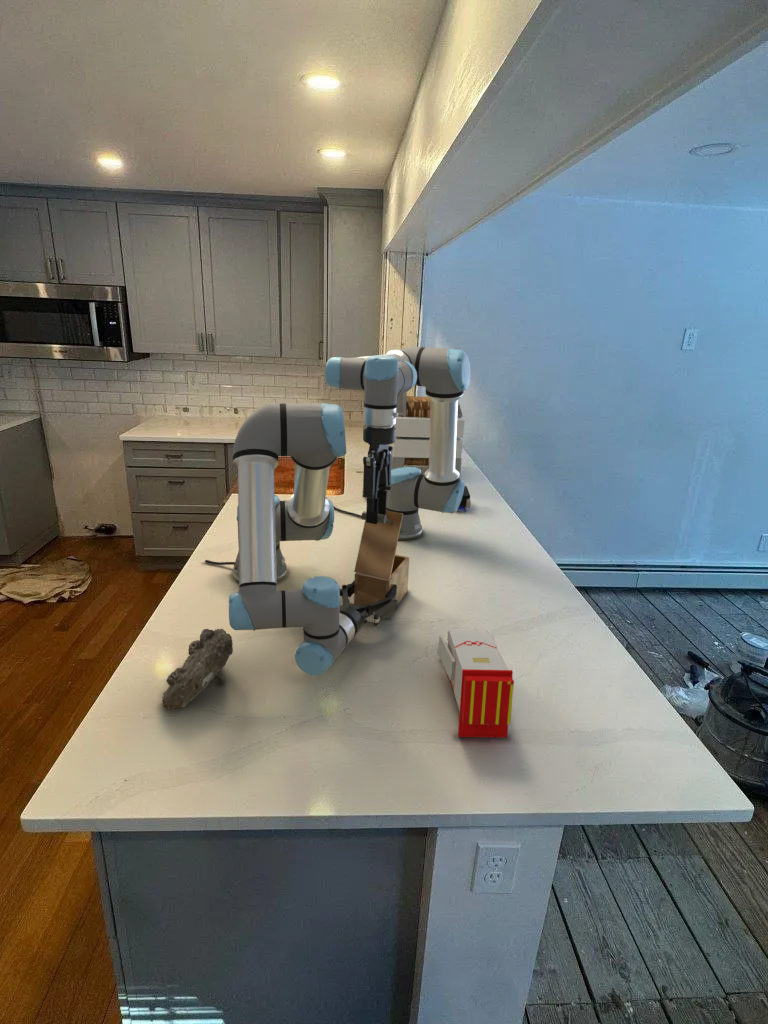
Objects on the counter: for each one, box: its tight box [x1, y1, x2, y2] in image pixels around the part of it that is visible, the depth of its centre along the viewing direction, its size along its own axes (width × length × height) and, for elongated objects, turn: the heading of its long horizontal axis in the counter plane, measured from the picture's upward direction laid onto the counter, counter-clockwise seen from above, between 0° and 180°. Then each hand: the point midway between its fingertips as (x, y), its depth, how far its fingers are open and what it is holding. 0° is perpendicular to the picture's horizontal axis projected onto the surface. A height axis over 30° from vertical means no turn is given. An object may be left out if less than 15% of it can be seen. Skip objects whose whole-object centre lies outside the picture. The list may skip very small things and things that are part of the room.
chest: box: [353, 553, 411, 619], centre depth 152 cm, size 16×10×11 cm, turn 159°
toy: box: [437, 628, 515, 738], centre depth 117 cm, size 12×13×30 cm
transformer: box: [389, 392, 465, 480], centre depth 268 cm, size 34×33×41 cm
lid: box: [353, 510, 403, 579], centre depth 140 cm, size 17×10×9 cm
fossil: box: [161, 628, 234, 710], centre depth 117 cm, size 22×10×15 cm
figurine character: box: [456, 485, 472, 513], centre depth 228 cm, size 7×8×15 cm
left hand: (376, 585), depth 148 cm, fingers closed on chest, 9 cm apart
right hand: (376, 518), depth 139 cm, fingers open, 5 cm apart
